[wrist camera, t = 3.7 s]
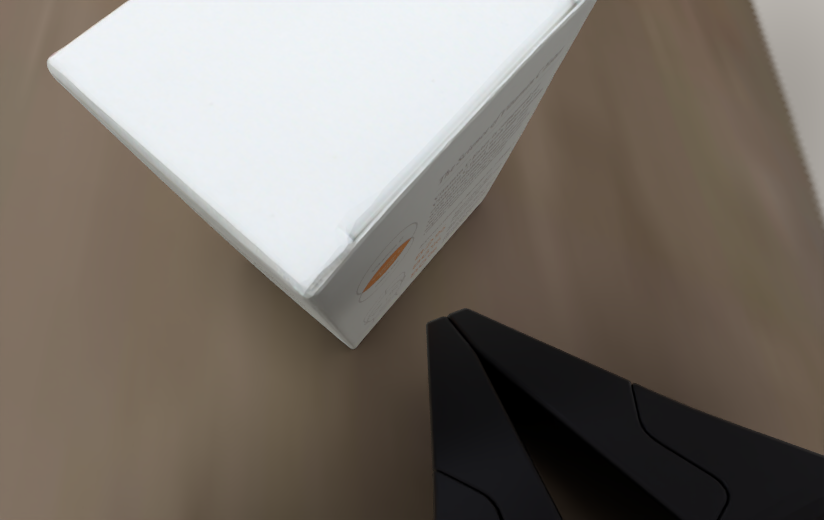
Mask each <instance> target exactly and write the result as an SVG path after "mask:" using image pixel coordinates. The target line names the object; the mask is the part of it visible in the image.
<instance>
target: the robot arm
mask: <svg viewBox="0 0 824 520" xmlns="http://www.w3.org/2000/svg"><path fill="white" fill-rule="evenodd" d="M426 334H427V357H428V380H429V402H430V425H431V448H432V469H433V474H432V478H433V516H434V520H824V455H821V454H818V453H815V452H812V451H810V450H807V449H804V448H801V447H798V446H796V445H793V444H790V443H787V442H784V441H782V440H779V439H776V438H773V437H770V436H768V435H765V434H762V433H759V432H756V431H753V430H751V429H748V428H745V427H742V426H739V425H737V424H734V423H731V422H729V421H726V420H723V419H721V418H718V417H715V416H713V415H710V414H707V413H705V412H702V411H699V410H697V409H694V408H692V407H689V406H687V405H685V404H682V403H680V402H678V401H675V400H673V399H670V398H668V397H666V396H663V395H661V394H659V393H656V392H654V391H652V390H649V389H647V388H645V387H643V386H641V385H638V384H636V383H633V384H632V385H631V382H630V381H629V380H627V379H624V378H622V377H620V376H618V375H615V374H613V373H611V372H609V371H607V370H604V369H602V368H600V367H598V366H595V365H593V364H591V363H589V362H586V361H584V360H582V359H580V358H577V357H575V356H573V355H571V354H568V353H566V352H564V351H562V350H560V349H557V348H555V347H553V346H551V345H548V344H546V343H544V342H542V341H539V340H537V339H535V338H533V337H530V336H528V335H526V334H524V333H521V332H519V331H517V330H515V329H513V328H510V327H508V326H506V325H504V324H501V323H499V322H497V321H495V320H492V319H490V318H488V317H486V316H483V315H481V314H479V313H477V312H474V311H472V310H470V309H466V308H465V309H461V310H459V311H456V312H453V313H451V314H449V315H448V316H447V317H440V318H438V319H435V320H432V321H430V322H428V323H427V325H426Z"/></svg>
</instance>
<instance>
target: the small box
mask: <svg viewBox="0 0 824 520" xmlns="http://www.w3.org/2000/svg"><path fill="white" fill-rule="evenodd" d="M596 1H597V0H128V1H127V2H125V3H124V4H123V5H121V6H120V7H119V8H117V9H116V10H114V11H113V12H112V13H110V14H109V15H108V16H106V17H105V18H103V19H102V20H101V21H99V22H98V23H96V24H95V25H94V26H92V27H91V28H89V29H88V30H87V31H85V32H84V33H82V34H81V35H80V36H79V37H77V38H76V39H75V40H73V41H72V42H70V43H69V44H67V45H66V46H65V47H63V48H62V49H60V50H59V51H57V52H55V53H53V54H52V55H51V56H50V57H49V59H48V60H47V67H48V69H49V71H50V73H51V74H52V76H53V77H54V78H55V79H56V80H57V81H58V82H59V83H60V84H61V85H62V86H63V87H64V88H65V89H66V90H67V91H69V92H70V93H71V94H72V95H73V96H74V97H75V98H76V99H77V100H78V101H79V102H80V103H81V104H82V105H83V106H84V107H85V108H86V109H87V110H88V111H89V112H90V113H91V114H92V115H93V116H95V117H96V118H97V119H98V120H99V121H100V122H101V123H102V124H103V125H104V126H105V127H106V128H107V129H108V130H109V131H110V132H111V133H112V134H113V135H115V136H116V137H117V138H118V139H119V140H120V141H121V142H122V143H123V144H124V145H125V146H126V147H127V148H128V149H129V150H130V151H131V152H132V153H133V154H135V155H136V156H137V157H138V158H139V159H140V160H141V161H142V162H143V163H144V164H145V165H146V166H147V167H148V168H149V169H150V170H151V171H152V172H154V173H155V174H156V175H157V176H158V177H159V178H160V179H161V180H162V181H163V182H164V183H165V184H166V185H167V186H168V187H169V188H171V189H172V190H173V191H174V192H175V193H176V194H177V195H178V196H179V197H180V198H181V199H182V200H183V201H185V203H187V204H188V205H189V206H190V207H191V208H192V209H193V210H194V211H195V212H196V213H197V214H198V215H199V216H201V217H202V218H203V219H204V220H205V221H206V222H207V223H208V224H209V225H210V226H211V227H212V228H213V229H215V230H216V231H217V232H218V233H219V234H220V235H221V236H222V237H223V238H224V239H225V240H226V241H228V242H229V243H230V244H231V245H232V246H233V247H234V248H235V249H236V250H237V251H239V252H240V253H241V254H242V255H243V256H244V257H245V258H246V259H248V260H249V261H250V262H251V263H252V264H253V265H254V266H255V267H256V268H258V269H259V270H260V271H261V272H262V273H263V274H264V275H265V276H266V277H268V278H269V279H270V280H271V281H272V282H273V283H274V284H275V285H277V286H278V287H279V288H280V289H281V290H282V291H284V292H285V293H286V294H287V295H288V296H289V297H290V298H292V299H293V300H294V301H295V302H296V303H297V304H299V305H300V306H301V307H302V308H303V309H304V310H305V311H307V312H308V313H309V314H310V315H311V316H313V317H314V318H315V319H316V320H317V321H318V322H320V323H321V324H322V325H323V326H324V327H326V328H327V329H328V330H329V331H330V332H331V333H333V334H334V335H335V336H336V337H337V338H339V339H340V340H341V341H342V342H343V343H345V344H346V345H347V346H348V347H349V348H351V349H355V348H356V347H357V346H358V345H359V344H360V342H361V341H362V340H363V339H364V337H365V336H366V335H367V334H368V333H369V332H370V331H371V329H372V328H373V327H374V326H375V325H376V324H377V322H378V321H379V320H380V319H381V318H382V317H383V315H384V314H385V313H386V312H387V311H388V310H389V308H390V307H391V306H392V305H393V304H394V303H395V301H396V300H397V299H398V298H399V297H400V296H401V294H402V293H403V292H404V291H405V290H406V289H407V287H408V286H409V285H410V284H411V283H412V282H413V280H414V279H415V278H416V277H417V276H418V275H419V273H420V272H421V271H422V270H423V269H424V268H425V266H426V265H427V264H428V263H429V262H430V261H431V260H432V258H433V257H434V256H435V255H436V254H437V253H438V251H439V250H440V249H441V248H442V247H443V246H444V244H445V243H446V242H447V241H448V240H449V238H450V237H451V236H452V235H453V234H454V233H455V232H456V230H457V229H458V228H459V227H460V226H461V225H462V223H463V222H464V221H465V220H466V219H467V218H468V217H469V215H470V214H471V213H472V212H473V211H474V210H475V209H476V208H477V206H478V205H479V204H480V203H481V202H482V201H483V199H484V198H485V196H486V194H487V193H488V191H489V189H490V188H491V186H492V184H493V183H494V181H495V179H496V178H497V176H498V174H499V172H500V171H501V169H502V167H503V165H504V164H505V162H506V160H507V159H508V157H509V155H510V153H511V152H512V150H513V148H514V146H515V145H516V143H517V141H518V139H519V138H520V136H521V134H522V132H523V131H524V129H525V127H526V125H527V123H528V122H529V120H530V118H531V116H532V115H533V113H534V111H535V109H536V107H537V105H538V104H539V102H540V100H541V98H542V97H543V95H544V93H545V91H546V89H547V87H548V85H549V84H550V82H551V80H552V78H553V76H554V74H555V72H556V71H557V69H558V67H559V66H560V64H561V62H562V61H563V59H564V57H565V55H566V54H567V52H568V50H569V48H570V47H571V45H572V43H573V41H574V40H575V38H576V36H577V34H578V32H579V31H580V29H581V27H582V25H583V23H584V22H585V20H586V18H587V16H588V15H589V13H590V11H591V9H592V8H593V6H594V4H595V2H596Z"/></svg>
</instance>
